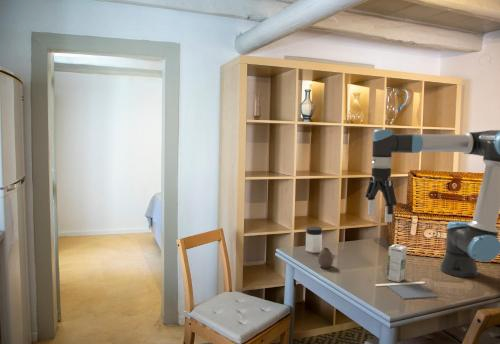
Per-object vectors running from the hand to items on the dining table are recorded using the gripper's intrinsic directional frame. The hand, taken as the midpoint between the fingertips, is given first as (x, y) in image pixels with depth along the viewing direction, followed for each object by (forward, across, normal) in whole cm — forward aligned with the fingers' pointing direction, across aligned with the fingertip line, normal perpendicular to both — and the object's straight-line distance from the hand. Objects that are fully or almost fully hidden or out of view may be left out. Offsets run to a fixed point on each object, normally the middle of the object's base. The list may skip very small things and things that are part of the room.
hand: (379, 218), depth 169 cm
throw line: (+27, +5, +8) cm, 29 cm away
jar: (+27, -46, -11) cm, 55 cm away
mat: (+27, +13, +8) cm, 31 cm away
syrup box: (+27, -1, +9) cm, 29 cm away
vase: (+27, -21, -14) cm, 37 cm away
